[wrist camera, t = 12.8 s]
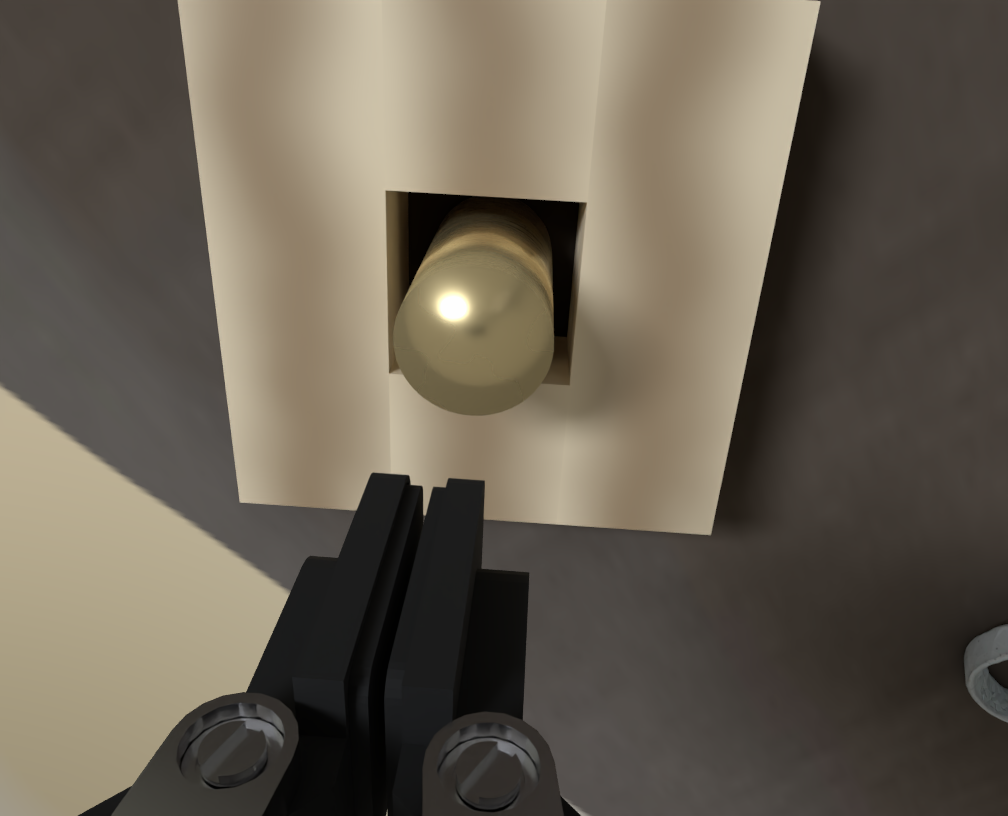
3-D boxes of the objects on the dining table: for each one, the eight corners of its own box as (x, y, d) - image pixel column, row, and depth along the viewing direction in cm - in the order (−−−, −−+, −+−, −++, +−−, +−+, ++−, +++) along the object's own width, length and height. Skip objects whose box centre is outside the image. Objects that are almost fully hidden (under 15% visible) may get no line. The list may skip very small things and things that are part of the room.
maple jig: (778, 1, 23) (820, 1, 19) (691, 472, 30) (710, 534, 27) (230, -29, 23) (173, -35, 20) (275, 444, 31) (239, 502, 27)
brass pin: (556, 197, 26) (560, 270, 19) (547, 313, 28) (548, 420, 21) (434, 190, 26) (391, 260, 19) (433, 306, 28) (394, 410, 21)
